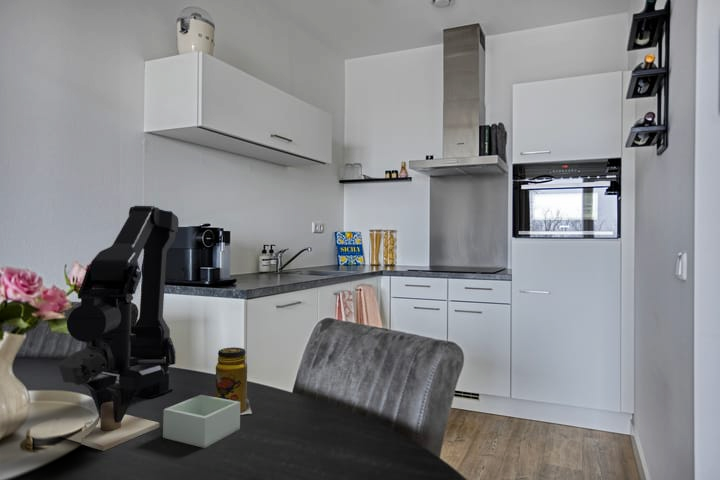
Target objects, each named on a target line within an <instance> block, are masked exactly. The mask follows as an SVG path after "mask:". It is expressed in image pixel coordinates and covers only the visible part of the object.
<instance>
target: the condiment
mask: <svg viewBox="0 0 720 480" xmlns="http://www.w3.org/2000/svg"><path fill="white" fill-rule="evenodd" d="M217 355H218V357H217V364H216V366H215V383H214V385H215V386H214V387H215V389H214V390H215V393H214V395H215V396H214V397H216V398H222V399H227V400H232V401H238V402H240V416H241V415H242V416H243V415H249V414H250V415H252V414H253V411H252V409H251V404H250V400H249V399H248V363H247V362H246V359H247V358H246V350H245V348H242V347H235V346H234V347H226V348H221V349H219V350H218V351H217Z"/></svg>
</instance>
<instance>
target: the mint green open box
mask: <svg viewBox="0 0 720 480" xmlns="http://www.w3.org/2000/svg"><path fill="white" fill-rule="evenodd" d="M162 418H163V419H162V420H163V421H162V438H164V439H168V440H171V441H175V442H180V443H183V444H186V445H190V446H191V445H192V446H196V447H200V448H203V449H204V448H207V447H209V446H211V445H212V444H215V443H216V442H218V441H220V440H222V439H224V438H226V437H227V436H229V435H231V434H232V433H235V432H237V431H238V430H240V428H241V415H240V402H238V401H232V400H227V399H222V398H216V397H215V396H209V395H207V394H206V395H205V394H199V395H197V396H194V397H192V398H189V399H186V400H184V401H181V402H179V403H177V404H174V405H171V406H168V407H166V408H164V409H163V417H162Z"/></svg>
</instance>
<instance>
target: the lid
mask: <svg viewBox="0 0 720 480" xmlns="http://www.w3.org/2000/svg"><path fill="white" fill-rule="evenodd" d="M98 419H99V421H98V424H97V425H96V427H95V428H94V429H93V430H92V431H91V432H90V433H89V434H88V435H86V436H85V437H84V438H82V439H81V444H80V445H84V446H87V447H90V448H92V449H97V450H100V451H103V452H104V451H107V450H109V449H111V448H113V447H116V446H119V445H120V444H123V443H125V442H128V441H131V440H132V439H136V438H137V437H139V436H143V435H144V434H147V433H149V432H151V431H154V430H157V429H159V428H160V422H158V421H153V420H149V419H145V418H141V417H139V416H138V417H137V416H133V415H129V414H126V413H125V415H124V417H123V419H122V421H121V422H118V423H115V420H114V410H113V400H112V401H111V402H106V403H103V404H102V405H101V419H100V417H99V418H98ZM92 422H93V420H91V421H88V422H86V423H85V422H84V424H86V425H89V424H91V423H92Z"/></svg>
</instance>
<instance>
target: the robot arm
mask: <svg viewBox="0 0 720 480" xmlns="http://www.w3.org/2000/svg"><path fill="white" fill-rule="evenodd" d="M178 231H179V218H178V216H177V215H176V214H175V213H173V211H170V210H164V209H160V208H159V207H155V205H134V206H130V208H129V210H128V217H127V219H126V221H125V222H124V223H123V225H122V227H121V230H120V231H119V233H118V234H117V236H116V238H115V239H114V242H113V244H112V245H111V246H108V247H107V248H104V249H102V250H100V251H99V252H98V253H97V254H96V255H95V257H94V258H93V259H92V260H91V262H90V263H89V265H87V268H86V271H85V273H84V277H83V280H82V282H81V284H80V289H79V291H78V295H77V299H78V300H80V305H79V306H77V307H75V308H74V309H73V310H71V312H70V313H69V315H68V318H67V320H66V329H67V332H68V333H69V335H70V336H71V337H72V338H73V339H75V340H76V341H78V342H83V343H85V344H86V345H85V347H84V348H82V349H81V350H78V351H76V352H74V353H73V354H71V355H69V356H67V357H66V358H64V359H63V360H61V361H59V362H58V363H57V367H58V370H59V373H60V376H61V378H62V381H63V382H64V383H71V384H74V385H77V386H79V385H82V386H84V387H85V388H87V389H88V390H89V392H90V395H91V398H92V399H93V403H94V406H95V408H96V410H97V413H98V416H99V418H100V419H101V405H102V404H103V403H106V402H112V401H113V410H114V420H115V423H118V422H121V421H122V419H123V417H124V415H125V414H126V413H127V411H128V409H129V407H130V405H131V403H132V401H133V400H134V398H135V396H138V397H142V398H147V399H152V398H154V397H158V396H161V395H163V394H166V393H169V392H172V391H173V390H174V387H171V386H170V371H169V367H170V366H172V365H175V364H176V362H177V361H176V359H177V356H176V348H175V346H174V342H173V340H172V338H171V337H170V336H171V332H170V331H171V330H170V328H169V326H168V324H167V322H166V320H165V319H164V304H165V303H164V302H165V298H164V297H165V285H166V284H165V281H166V267H167V253H168V250H169V249H170V248H171V246H172V245H173V244H174V242H175V240H176V233H177V232H178ZM142 251H143V255H142V256H143V257H142V259H143V260H142V271H141V268H140V266H139V265H140V264H139V262H138V261H139V258H140V255H141V253H142ZM140 281H141V287H140V289H141V290H140V304H139V318H138V319H137V321H136V322H135V323H134V325H132V301H133V300H134V296H133V295H135V294H136V291H137V288H138V285H139V283H140Z"/></svg>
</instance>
